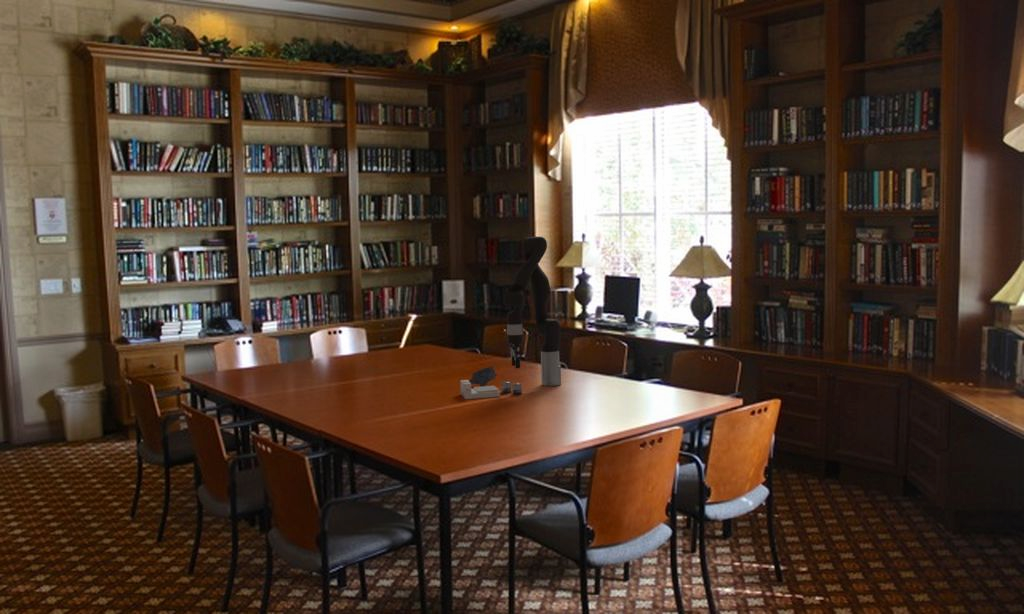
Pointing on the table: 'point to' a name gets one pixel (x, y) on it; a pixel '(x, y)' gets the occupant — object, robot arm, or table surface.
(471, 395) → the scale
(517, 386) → the grey glossy egg shape
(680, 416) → the table surface
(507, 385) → the cylinder
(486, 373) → the stone
